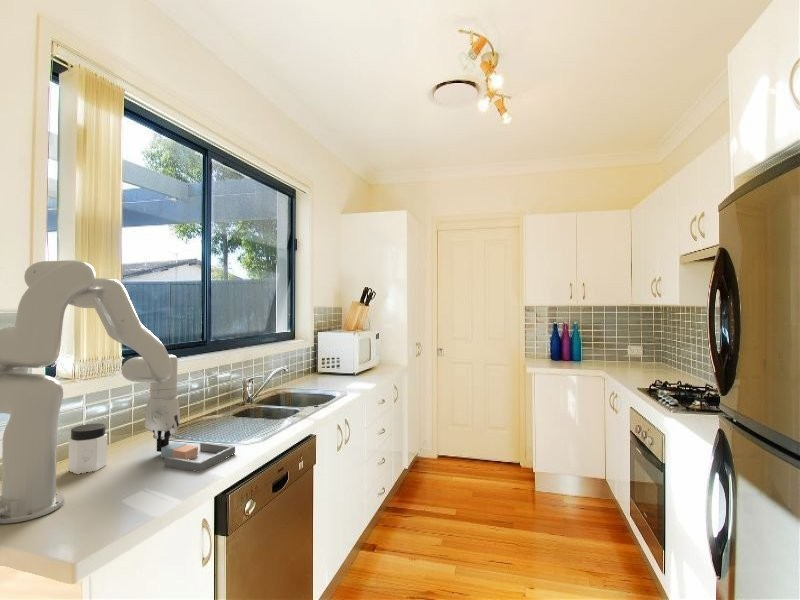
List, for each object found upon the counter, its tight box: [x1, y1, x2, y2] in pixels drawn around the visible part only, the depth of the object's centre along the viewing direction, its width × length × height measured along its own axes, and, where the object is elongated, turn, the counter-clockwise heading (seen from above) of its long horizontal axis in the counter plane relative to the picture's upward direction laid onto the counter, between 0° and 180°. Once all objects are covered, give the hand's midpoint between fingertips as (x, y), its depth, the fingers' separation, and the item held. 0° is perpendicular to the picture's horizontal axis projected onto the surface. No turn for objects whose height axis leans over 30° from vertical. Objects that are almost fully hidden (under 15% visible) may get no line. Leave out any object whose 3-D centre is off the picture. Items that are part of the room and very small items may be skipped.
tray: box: [163, 441, 236, 472], centre depth 128 cm, size 15×13×2 cm
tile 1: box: [160, 441, 187, 458], centre depth 132 cm, size 5×5×3 cm
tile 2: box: [172, 445, 199, 460], centre depth 130 cm, size 5×5×3 cm
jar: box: [67, 422, 108, 475], centre depth 121 cm, size 9×8×12 cm
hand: (162, 450), depth 133 cm, fingers closed
